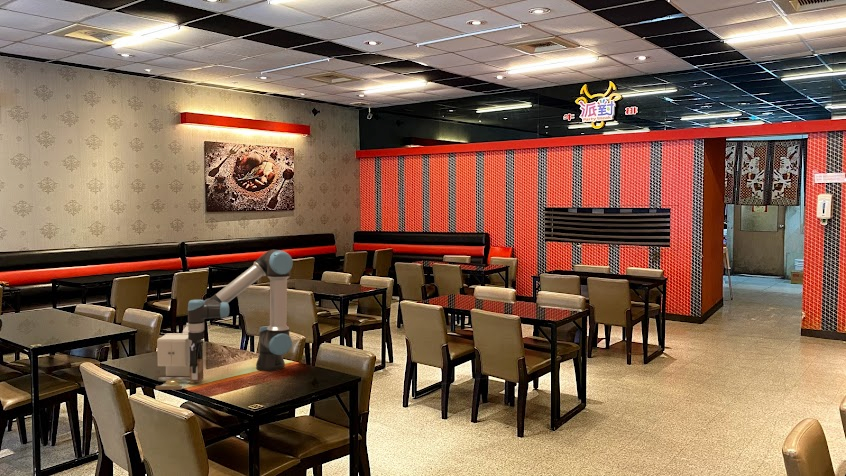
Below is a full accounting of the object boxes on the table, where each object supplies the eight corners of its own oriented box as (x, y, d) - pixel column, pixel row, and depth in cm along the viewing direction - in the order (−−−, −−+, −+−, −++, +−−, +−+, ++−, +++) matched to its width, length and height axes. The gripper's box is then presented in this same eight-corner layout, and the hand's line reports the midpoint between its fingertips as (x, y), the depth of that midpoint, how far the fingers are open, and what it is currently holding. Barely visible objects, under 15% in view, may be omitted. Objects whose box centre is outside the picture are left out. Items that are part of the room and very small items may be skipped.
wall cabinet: (194, 375, 338) (193, 333, 337) (185, 382, 324) (184, 338, 323) (166, 375, 338) (166, 333, 336) (156, 382, 324) (156, 338, 323)
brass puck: (181, 383, 322) (181, 378, 322) (176, 387, 316) (176, 382, 316) (169, 383, 322) (169, 378, 322) (164, 387, 316) (164, 381, 316)
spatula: (203, 379, 326) (203, 359, 325) (200, 381, 321) (199, 361, 320) (160, 378, 325) (160, 358, 325) (157, 381, 320) (156, 361, 320)
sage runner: (194, 378, 332) (194, 375, 332) (181, 389, 312) (181, 386, 312) (170, 378, 332) (170, 375, 332) (155, 389, 312) (155, 386, 312)
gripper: (194, 327, 331) (194, 373, 332) (182, 334, 313) (182, 382, 314) (209, 327, 331) (209, 373, 332) (198, 335, 313) (198, 382, 314)
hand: (196, 377), depth 323 cm, fingers closed on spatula, 5 cm apart
